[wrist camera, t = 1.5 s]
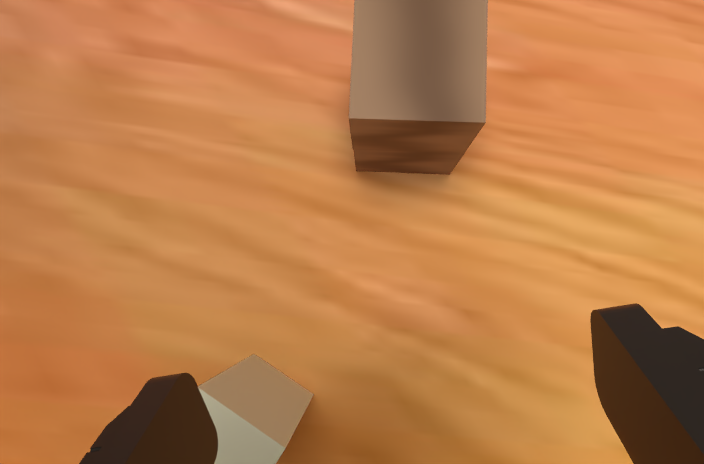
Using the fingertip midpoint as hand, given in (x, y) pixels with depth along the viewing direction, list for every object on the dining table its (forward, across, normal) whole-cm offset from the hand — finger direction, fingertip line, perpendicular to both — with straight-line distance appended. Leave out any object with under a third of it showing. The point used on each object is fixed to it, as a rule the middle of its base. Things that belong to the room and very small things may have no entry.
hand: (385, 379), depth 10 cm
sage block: (+15, +11, +13) cm, 23 cm away
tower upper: (+20, -2, -3) cm, 20 cm away
